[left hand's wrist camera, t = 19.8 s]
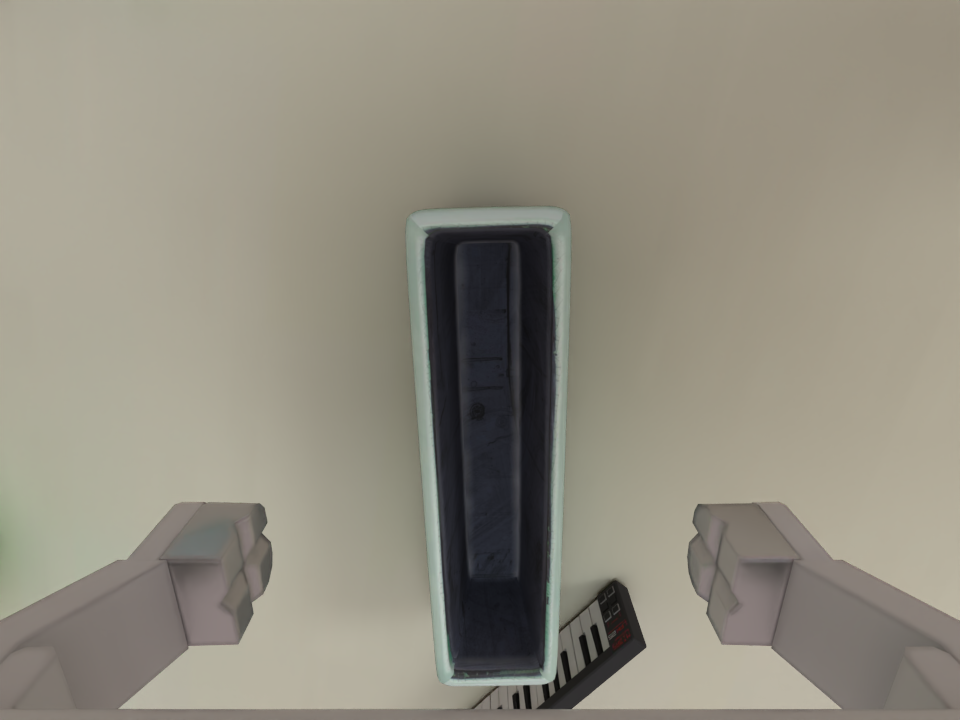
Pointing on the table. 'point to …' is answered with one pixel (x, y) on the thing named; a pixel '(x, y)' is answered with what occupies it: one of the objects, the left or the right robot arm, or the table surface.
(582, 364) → the table surface
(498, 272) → the planter
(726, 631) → the left robot arm
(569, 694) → the midi keyboard
